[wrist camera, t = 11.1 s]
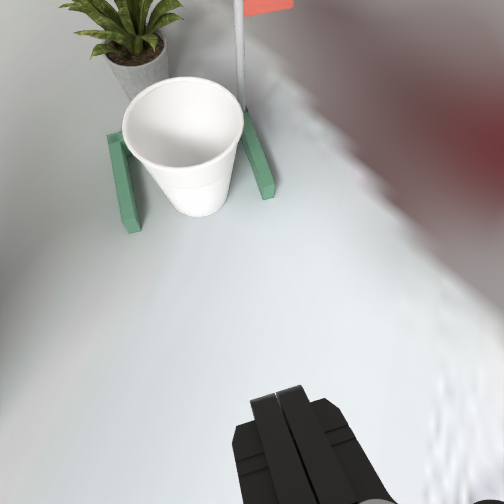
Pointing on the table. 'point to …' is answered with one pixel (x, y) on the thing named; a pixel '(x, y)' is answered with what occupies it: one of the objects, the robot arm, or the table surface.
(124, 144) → the putting pocket
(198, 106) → the cup
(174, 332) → the table surface
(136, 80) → the house plant
